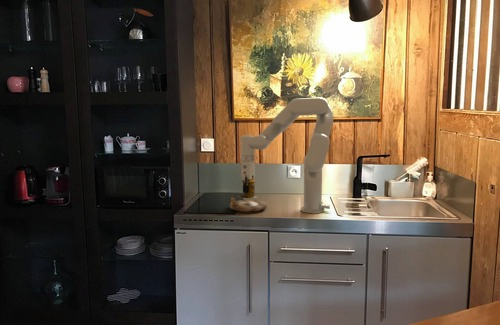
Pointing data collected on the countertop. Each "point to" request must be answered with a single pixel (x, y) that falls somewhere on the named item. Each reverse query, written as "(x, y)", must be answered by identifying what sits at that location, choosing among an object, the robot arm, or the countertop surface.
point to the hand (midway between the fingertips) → (247, 191)
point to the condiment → (250, 190)
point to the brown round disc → (247, 205)
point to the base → (247, 211)
